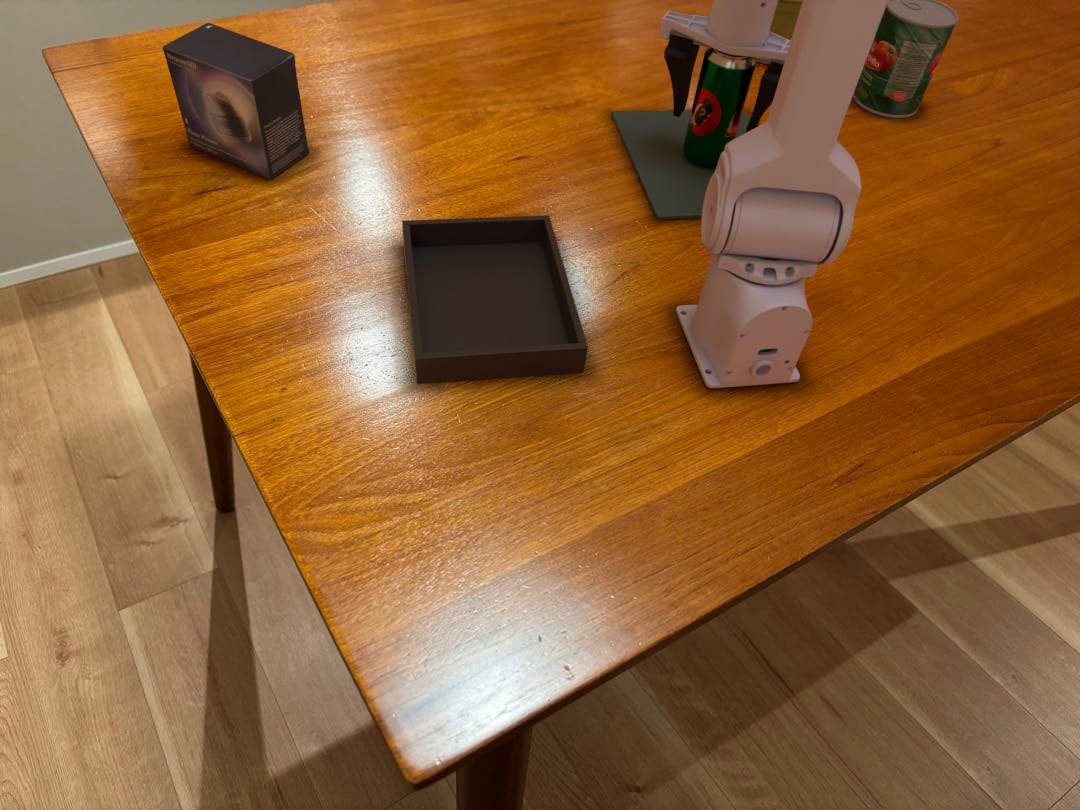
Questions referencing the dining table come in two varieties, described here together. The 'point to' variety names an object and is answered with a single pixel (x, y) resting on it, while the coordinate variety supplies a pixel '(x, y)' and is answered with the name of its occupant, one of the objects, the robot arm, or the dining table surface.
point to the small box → (238, 99)
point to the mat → (666, 161)
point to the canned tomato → (904, 56)
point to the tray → (489, 300)
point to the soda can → (717, 106)
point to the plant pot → (785, 18)
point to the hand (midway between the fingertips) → (714, 122)
